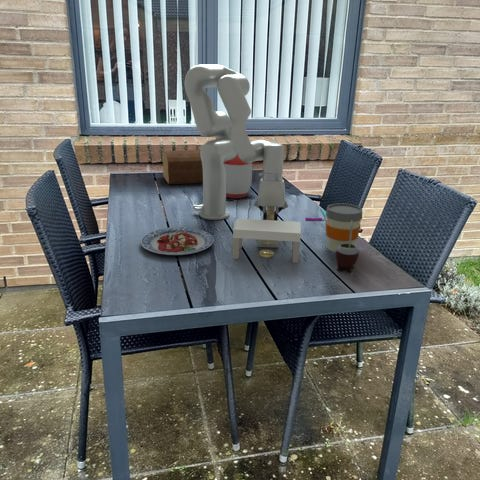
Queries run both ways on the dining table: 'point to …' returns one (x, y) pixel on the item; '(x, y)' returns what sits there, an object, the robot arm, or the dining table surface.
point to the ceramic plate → (177, 241)
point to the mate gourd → (346, 255)
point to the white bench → (266, 233)
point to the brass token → (266, 253)
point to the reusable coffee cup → (342, 224)
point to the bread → (182, 166)
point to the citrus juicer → (237, 177)
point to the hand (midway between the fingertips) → (270, 221)
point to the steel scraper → (269, 242)
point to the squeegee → (317, 218)
